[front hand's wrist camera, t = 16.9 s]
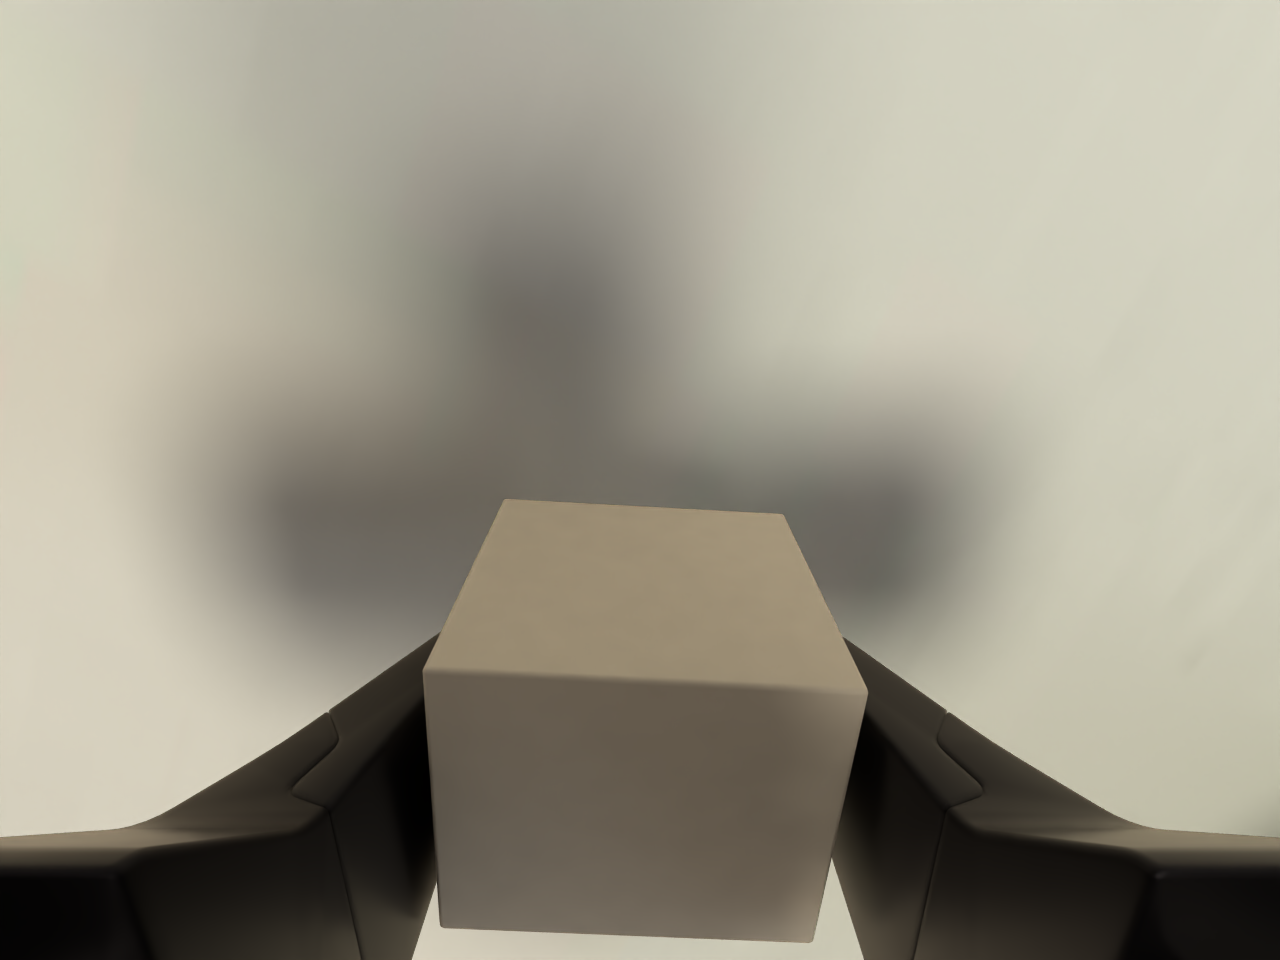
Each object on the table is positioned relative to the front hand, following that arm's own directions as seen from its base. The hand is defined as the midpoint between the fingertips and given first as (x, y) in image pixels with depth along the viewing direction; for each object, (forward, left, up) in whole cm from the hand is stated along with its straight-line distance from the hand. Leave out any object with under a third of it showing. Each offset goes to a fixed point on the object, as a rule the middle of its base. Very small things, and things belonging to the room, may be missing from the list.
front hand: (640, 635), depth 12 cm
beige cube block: (0, 0, -1) cm, 1 cm away
